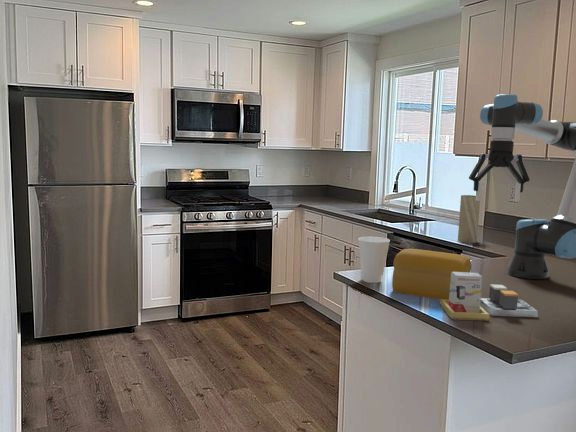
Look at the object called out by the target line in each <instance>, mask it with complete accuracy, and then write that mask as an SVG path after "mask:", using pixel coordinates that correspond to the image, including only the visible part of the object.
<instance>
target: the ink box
mask: <svg viewBox="0 0 576 432" xmlns="http://www.w3.org/2000/svg"><path fill="white" fill-rule="evenodd" d="M482 285H483V275H481V274H480V273H478V272H470V273H468V272H451V281H450V293H449V306H450V307H451V308H452V309H453V310H454V312H469V313H480V306H481V305H480V302H481V298H482V287H483V286H482Z"/></svg>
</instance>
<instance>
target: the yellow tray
mask: <svg viewBox="0 0 576 432" xmlns="http://www.w3.org/2000/svg"><path fill="white" fill-rule="evenodd" d="M439 301H440V304H439V306H440V307H441V309H443V310H444V313H446V314H447V315H448V316H449V317H450V319H451V320H456V319H458V321H459V320H460V321H462V320H463V321H465V320H466V321H482V322H483V321H486V322H489V321H490V314H489V313H488V312H487V311H486V310H485V309H484V308H483V307H482V306H481V305H480V313H469V312H454V310H453V309H452V308H451V307H450V306H449V300H445V299H441V300H440V299H439Z"/></svg>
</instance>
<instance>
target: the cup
mask: <svg viewBox="0 0 576 432" xmlns="http://www.w3.org/2000/svg"><path fill="white" fill-rule="evenodd" d="M357 240H358V250H359V261H360V271H361V272H360V273H361V274H362V281H363V282H365V283H369V284H378V283H379V284H380V283H382V277H383V275H384V272H385V266H386V261H387V256H388V253H389V252H388V251H389V247H390V242H391V240H390V238H386V237H381V236H361V237H358V239H357Z"/></svg>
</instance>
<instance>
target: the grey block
mask: <svg viewBox="0 0 576 432" xmlns="http://www.w3.org/2000/svg"><path fill="white" fill-rule="evenodd" d="M518 300H519V294H518V293H517V292H515V291H514V290H507V291H504V290H500V298H499V305H500V306H501V307H503V308H507V309H517V301H518Z"/></svg>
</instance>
